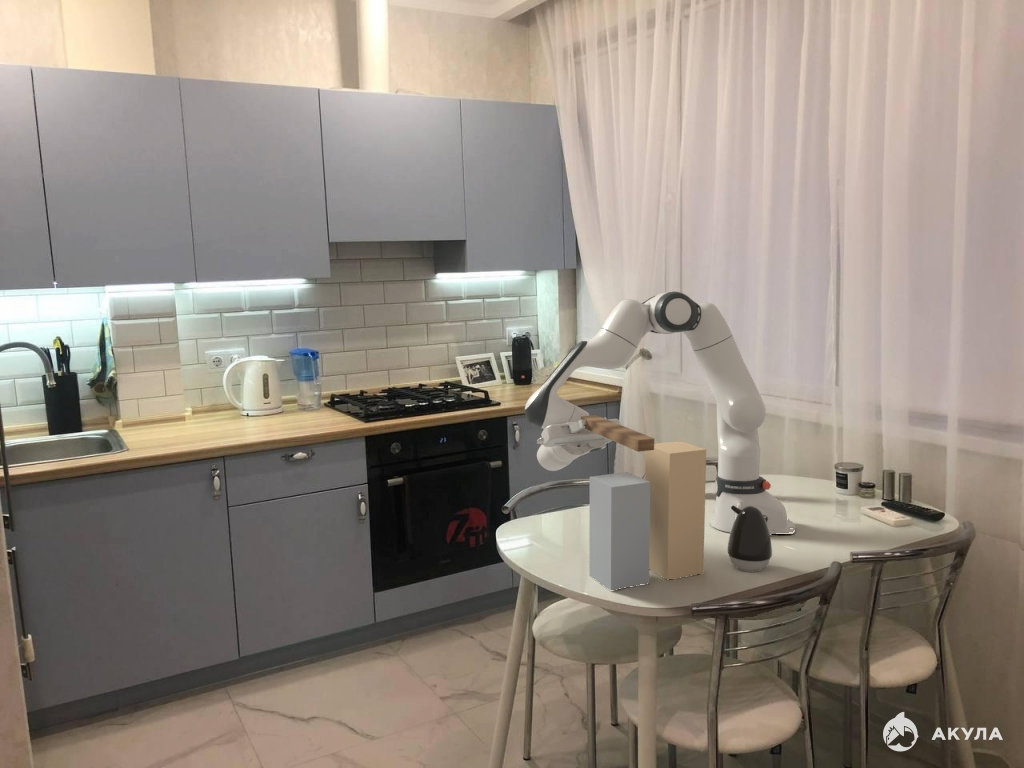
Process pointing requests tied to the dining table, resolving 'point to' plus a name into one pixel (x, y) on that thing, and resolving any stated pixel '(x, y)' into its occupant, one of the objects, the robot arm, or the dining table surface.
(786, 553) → the dining table surface
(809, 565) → the dining table surface
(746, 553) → the pump dispenser
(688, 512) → the carton
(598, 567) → the grey box
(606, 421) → the slat
